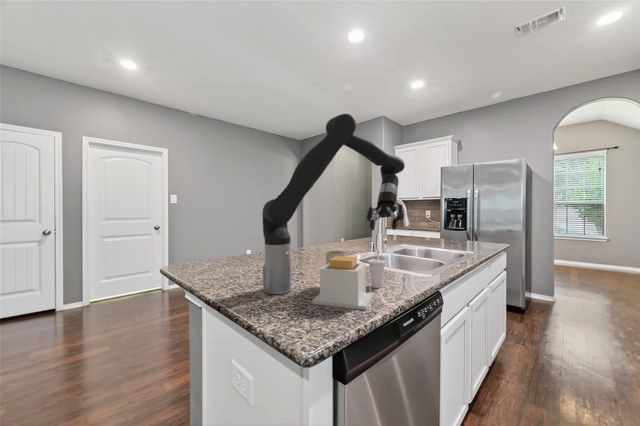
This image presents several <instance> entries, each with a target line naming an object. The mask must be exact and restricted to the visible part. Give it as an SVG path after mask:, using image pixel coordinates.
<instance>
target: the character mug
mask: <svg viewBox="0 0 640 426" xmlns="http://www.w3.org/2000/svg"><path fill="white" fill-rule="evenodd" d="M335 256H345V252H344V251H342V250H328V251H326V252H325V265H327V264H328V263H330V262H329V260H330V259H332V258H333V257H335Z"/></svg>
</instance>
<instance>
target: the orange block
mask: <svg viewBox="0 0 640 426" xmlns="http://www.w3.org/2000/svg"><path fill="white" fill-rule="evenodd" d="M329 262H330V268H331V269H346V270H355V269H356V268H357V263H358V258H357V256H347V255H346V256H345V255H344V256H335V257H333V258H332V259H330V260H329Z"/></svg>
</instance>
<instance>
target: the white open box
mask: <svg viewBox="0 0 640 426" xmlns="http://www.w3.org/2000/svg"><path fill="white" fill-rule="evenodd" d="M366 273H367V272H366V263H361V262H357V268H356V269H355V270H346V269H331V268H330V263H328V264H327V265H326V264H324V266H322V267H321V268H319V294H318V295H317V296H315V297H314V298H313V299H312V300H311V303H312V304H313V305H320V306H331V307H337V308H338V307H340V308H346V309H355V310H366V311H367V310H368V308H369V306H370V304H371V302H372V299H373V298H374V293H373V292H366V290H367V289H366V288H367V287H366V285H367V283H366Z"/></svg>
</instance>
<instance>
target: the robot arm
mask: <svg viewBox="0 0 640 426" xmlns="http://www.w3.org/2000/svg"><path fill="white" fill-rule="evenodd" d="M356 129H357V122H356V119H355V117H354V116H353V115H351V114H350V113H342V114H339V115H336V116H334V117H332V118H331V119H329V120H328V121H327V123H326V125H325V131H326V133H327V134H326V135H325V137H323V138H322V140H320V141H319V142H318V143H317V144H316V145H314V146H313V147H312V148H311V149H310V150H309V151H308V152H307V153H306V154H305V155H304V156H303V157H302V159H301V160H300V161H299V163H297V166H296V167H295V169H294V171H293V174H292V176H291V177H290V179H289V182H288V184H287V185H286V186H285V188H284V189H283V191H281V192H280V194H279V195H277V196H276V198H274V199H270V200H268V201H267V202H266V203H265V204H264V205H263V207H262V208H263V209H262V234H263V238H264V264H263V265H262V292H263V293H266V294H270V295H284V294H287V293H290V292H291V291H292V258H291V257H292V256H291V255H292V253H291V251H292V249H291V245H292V244H291V234H290V232H289V229H288V222H290V220H291V219H292V217H293V215H294V214H295V212H296V210H298V207H299V206H300V203H301V202H302V200H303V199H304V198H305V196H306V195H307V194H308V193H309V191H310V190H311V189H312V188H313V186H314V185H315V184H316V182H317V181H318V180H319V178H320V177H322V175H323V173H324V172H325V170H326V169H327V168H328V167H329V165H330V164H331V162H332V161H333V159H334V158H335V156H336V155H337V154H338V152H339V151H340V149H341V148H342V147H343V146H345V147H347V148H349V149H351V150H352V151H355V152H356V153H358V154H359V155H361V156H362V157H364V158H365V159H367V160H368V161H369V162H371V163H372V164H373V165H375V166H377V167H380V166H381V167H380V177H381V183H380V187H379V193H378V196H377V197H378V198H377V203H376V207H372V206H370V207H369V208H368V211H367V215H366V220H367V221H368V222H369V228H370V230H371V231H373V232H374V231H375V229H376V228H375V226H376V222H377V221H379V220H380V219H381V218H382V219H385V218H390V217H391V218H392V222H391V228H392V230H393V231H395V230H396V229H397V228H398V222H399V221H403V220H404V206H403V205H402V204H399V205H398V206H397V199H398V192H399V191H398V187H399V177H398V176H397V174H399V173H402V172H403V171H404V169H405V166H406V164H405V162H404V160H403V159H402V158H401V157H400V156H399V155H396V154H393V153H391V152H387V151H386V150H384V149H383V148H381V147H380V146H379V145H378V144H376V143H374V142H372V141H371V140H367V139H365V138H362V137H361V136H359V135H356V134H355V132H356ZM396 211H397V212H398V213H397V215H396V214H395V212H396Z"/></svg>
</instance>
